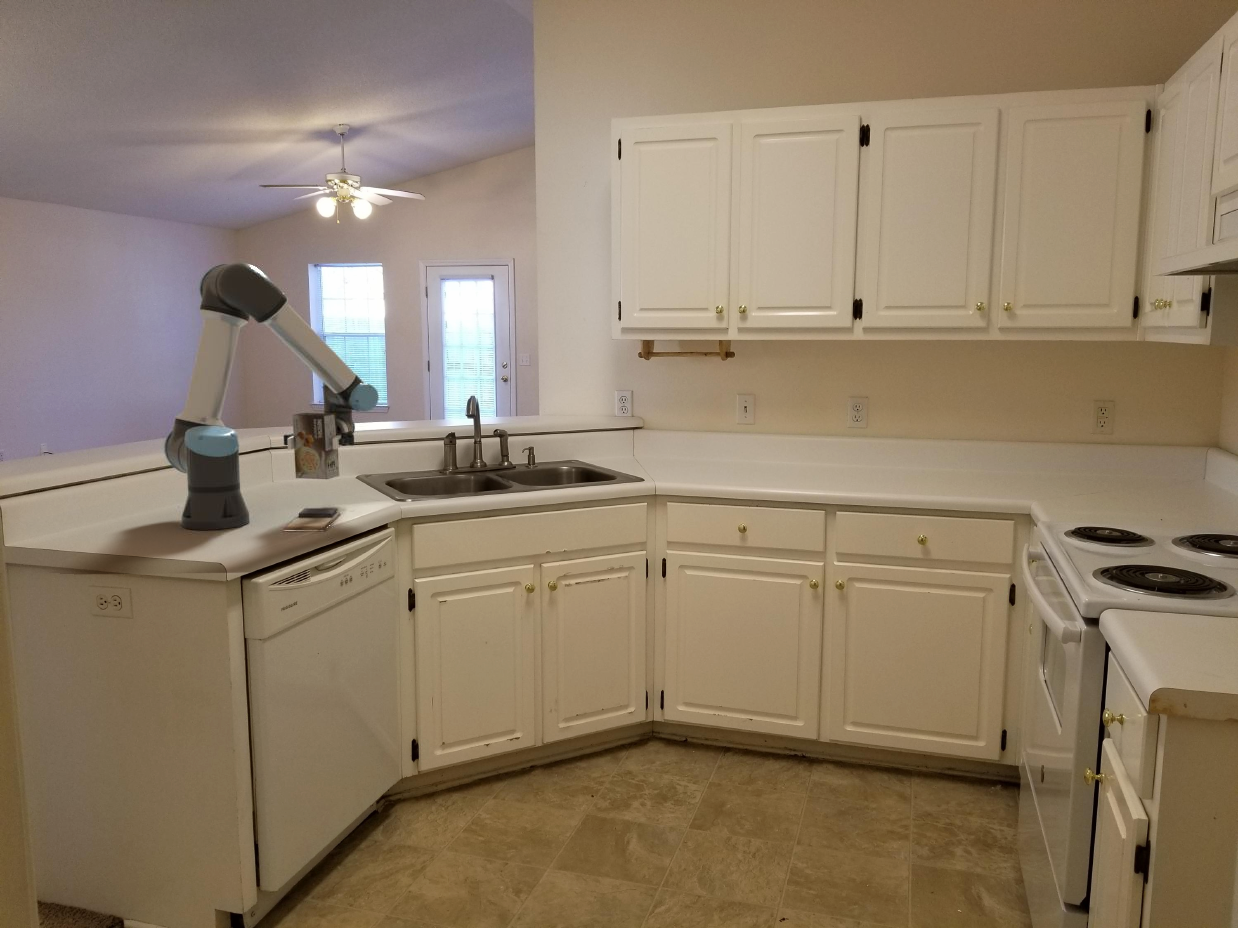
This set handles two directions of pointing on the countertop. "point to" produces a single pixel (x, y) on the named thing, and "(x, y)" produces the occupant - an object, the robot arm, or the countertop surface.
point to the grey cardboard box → (315, 445)
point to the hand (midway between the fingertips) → (311, 443)
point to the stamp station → (313, 519)
